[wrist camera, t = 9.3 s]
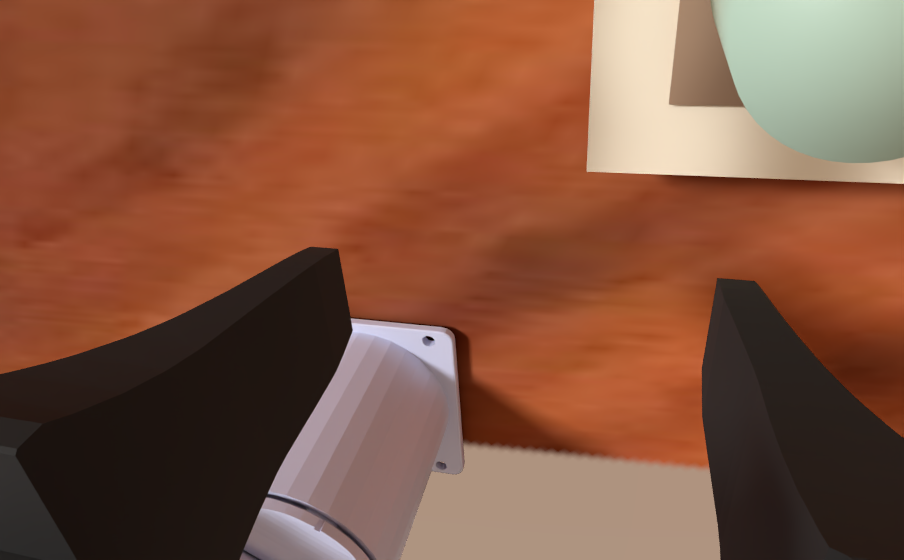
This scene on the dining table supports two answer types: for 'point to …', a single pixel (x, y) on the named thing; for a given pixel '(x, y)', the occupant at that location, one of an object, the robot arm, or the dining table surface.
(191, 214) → the dining table surface
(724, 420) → the robot arm
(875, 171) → the birch base
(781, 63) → the pale green rounded cylinder
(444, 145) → the dining table surface
